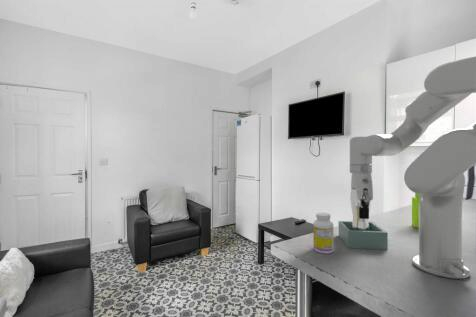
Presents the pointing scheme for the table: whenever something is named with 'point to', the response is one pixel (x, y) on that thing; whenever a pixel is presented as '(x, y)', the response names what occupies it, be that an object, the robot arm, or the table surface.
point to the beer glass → (355, 205)
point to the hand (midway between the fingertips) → (360, 215)
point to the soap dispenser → (415, 210)
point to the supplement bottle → (323, 234)
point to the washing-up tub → (363, 236)
